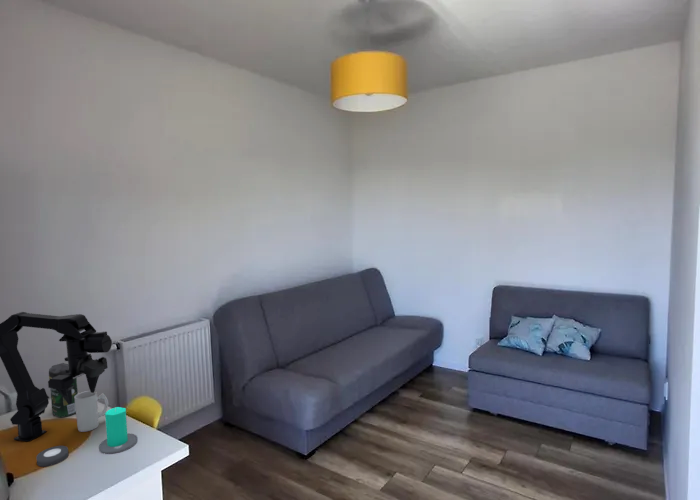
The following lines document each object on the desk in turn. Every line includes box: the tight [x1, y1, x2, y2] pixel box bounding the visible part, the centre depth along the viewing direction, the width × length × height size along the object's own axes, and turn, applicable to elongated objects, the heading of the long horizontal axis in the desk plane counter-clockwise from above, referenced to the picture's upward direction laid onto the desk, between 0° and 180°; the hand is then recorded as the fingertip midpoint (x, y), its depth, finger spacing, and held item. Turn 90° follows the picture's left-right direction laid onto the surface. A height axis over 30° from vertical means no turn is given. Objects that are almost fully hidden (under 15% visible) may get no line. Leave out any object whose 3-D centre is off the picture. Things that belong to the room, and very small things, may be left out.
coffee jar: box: [48, 362, 79, 418], centre depth 163 cm, size 10×8×19 cm
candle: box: [104, 406, 128, 447], centre depth 140 cm, size 6×6×12 cm
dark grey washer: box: [35, 445, 69, 468], centre depth 132 cm, size 8×8×2 cm
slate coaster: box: [98, 432, 138, 455], centre depth 140 cm, size 11×11×1 cm
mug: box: [74, 390, 109, 433], centre depth 152 cm, size 10×7×12 cm, turn 128°
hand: (81, 398), depth 145 cm, fingers open, 9 cm apart
